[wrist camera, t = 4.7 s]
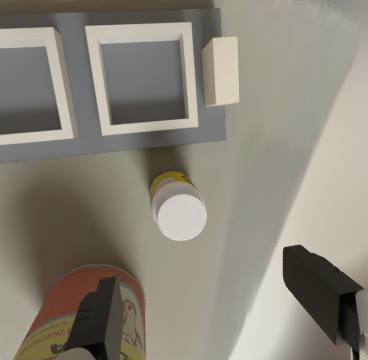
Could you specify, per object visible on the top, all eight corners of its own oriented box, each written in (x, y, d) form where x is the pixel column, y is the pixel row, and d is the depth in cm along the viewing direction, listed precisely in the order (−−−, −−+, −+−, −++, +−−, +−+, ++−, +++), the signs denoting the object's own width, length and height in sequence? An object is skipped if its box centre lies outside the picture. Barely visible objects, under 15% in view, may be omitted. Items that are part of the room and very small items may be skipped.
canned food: (164, 296, 31) (178, 401, 20) (104, 361, 32) (83, 498, 20) (88, 244, 28) (50, 332, 16) (23, 317, 29) (-56, 449, 17)
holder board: (-44, 165, 24) (-96, 178, 19) (-87, 24, 21) (-163, -7, 16) (221, 139, 28) (240, 143, 22) (215, 14, 25) (235, -14, 19)
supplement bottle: (199, 197, 29) (221, 227, 21) (163, 218, 29) (171, 257, 21) (179, 160, 27) (194, 178, 19) (140, 182, 27) (140, 209, 19)
